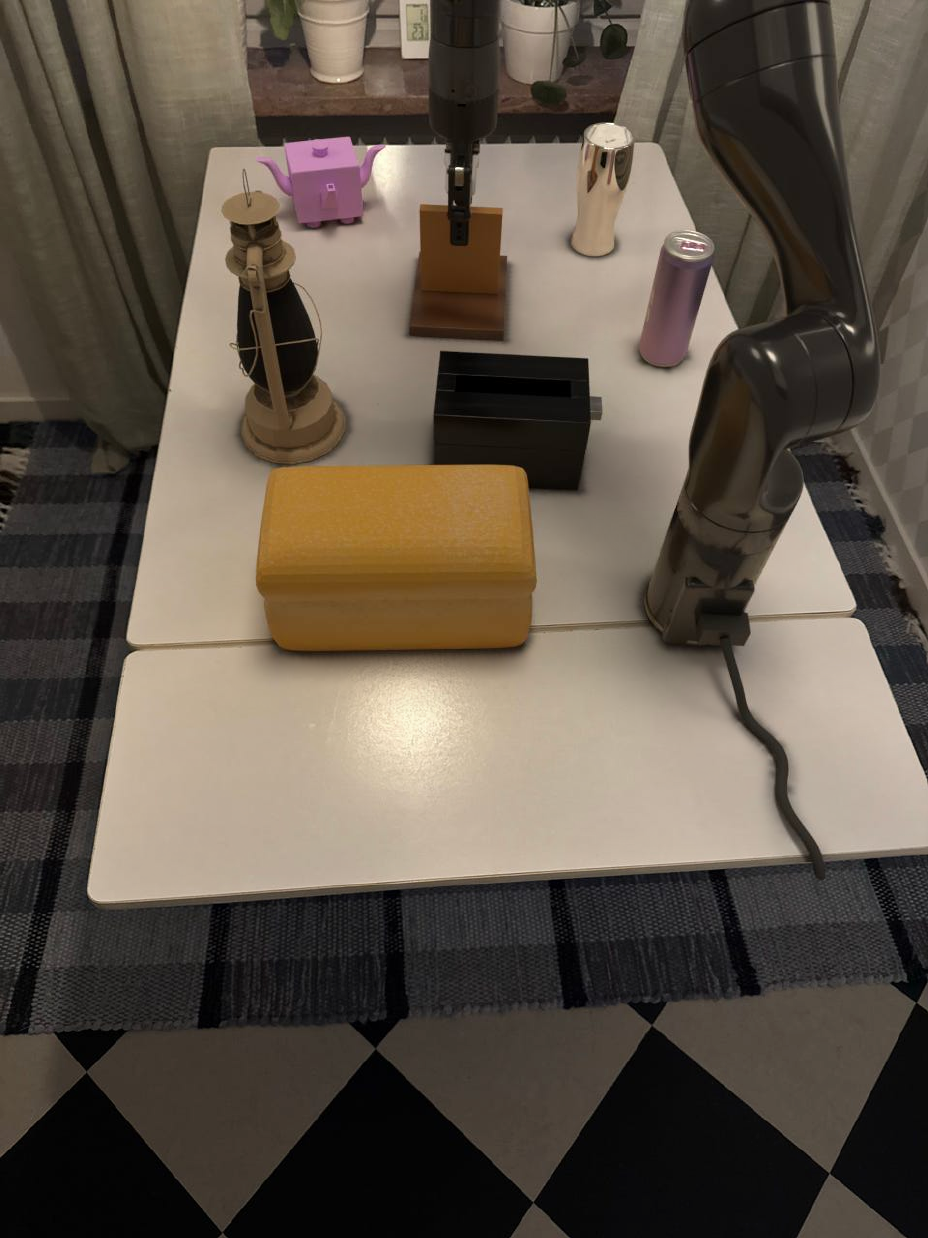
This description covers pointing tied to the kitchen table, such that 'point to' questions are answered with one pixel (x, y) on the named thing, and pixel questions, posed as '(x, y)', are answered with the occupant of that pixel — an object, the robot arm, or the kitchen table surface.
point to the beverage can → (676, 297)
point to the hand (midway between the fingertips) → (461, 223)
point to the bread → (397, 557)
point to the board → (459, 311)
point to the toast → (460, 251)
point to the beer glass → (601, 185)
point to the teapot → (324, 179)
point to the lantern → (276, 341)
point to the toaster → (515, 414)
